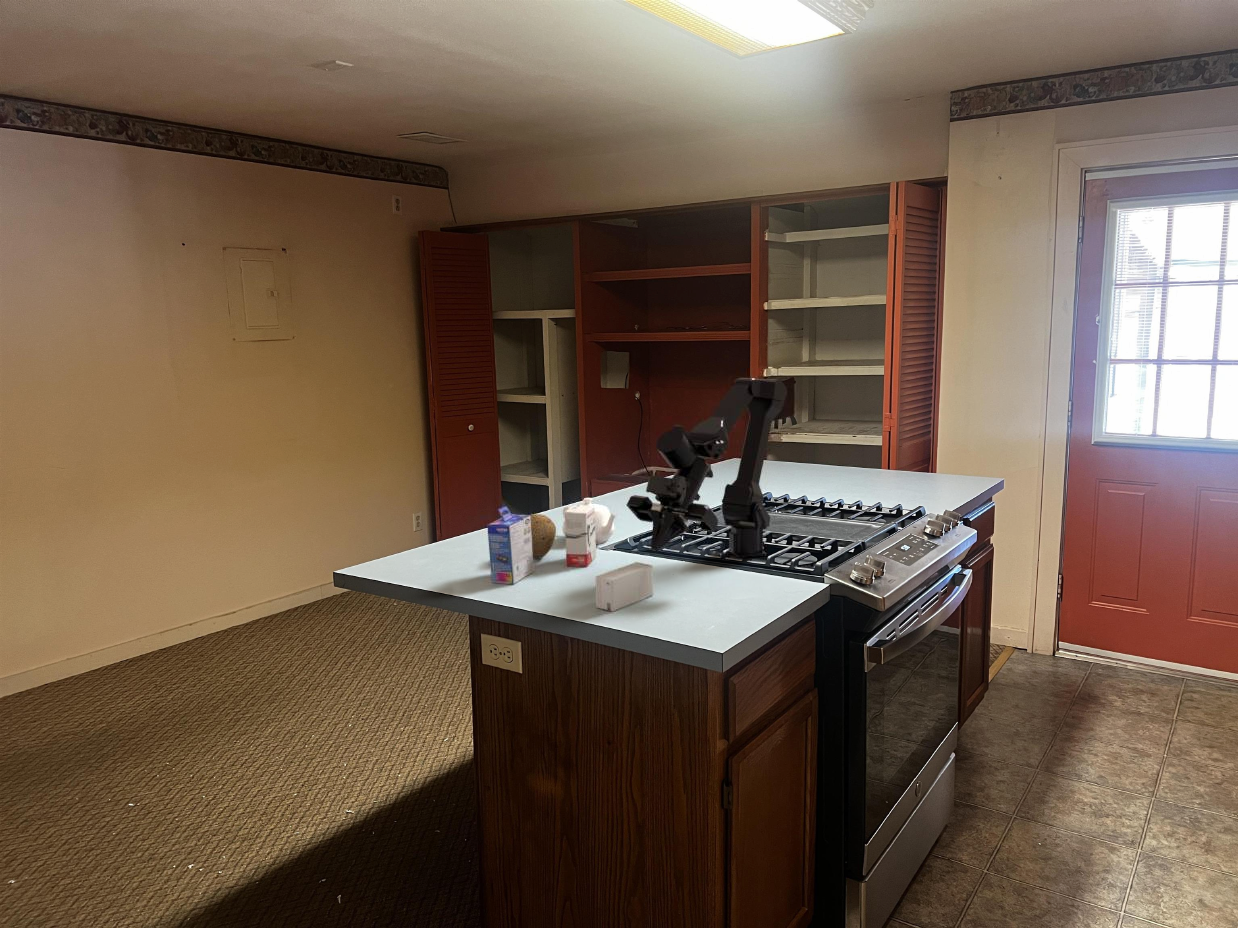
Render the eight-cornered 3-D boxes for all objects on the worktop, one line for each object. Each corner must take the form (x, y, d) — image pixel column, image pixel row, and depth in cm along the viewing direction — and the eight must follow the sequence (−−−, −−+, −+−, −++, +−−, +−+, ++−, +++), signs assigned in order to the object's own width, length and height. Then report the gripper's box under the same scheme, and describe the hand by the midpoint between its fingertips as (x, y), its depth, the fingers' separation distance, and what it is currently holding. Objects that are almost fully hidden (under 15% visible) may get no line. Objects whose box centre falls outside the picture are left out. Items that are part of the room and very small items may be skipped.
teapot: (637, 543, 204) (636, 500, 203) (595, 552, 196) (594, 508, 195) (585, 529, 219) (583, 489, 218) (544, 537, 212) (543, 496, 210)
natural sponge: (522, 565, 187) (520, 520, 185) (510, 556, 195) (508, 512, 193) (562, 560, 190) (560, 515, 189) (548, 551, 199) (547, 508, 197)
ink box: (587, 567, 185) (586, 512, 183) (565, 566, 186) (563, 512, 184) (597, 556, 193) (595, 504, 191) (575, 556, 194) (573, 504, 192)
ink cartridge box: (510, 569, 184) (507, 502, 182) (534, 571, 182) (532, 503, 180) (489, 583, 175) (485, 512, 173) (514, 585, 173) (510, 513, 171)
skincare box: (636, 561, 166) (593, 574, 157) (654, 564, 163) (611, 578, 154) (636, 592, 167) (593, 607, 158) (655, 596, 164) (612, 612, 155)
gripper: (630, 455, 173) (595, 520, 167) (708, 463, 161) (674, 533, 155) (656, 487, 181) (623, 551, 174) (732, 496, 169) (700, 565, 162)
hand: (653, 549), depth 166 cm, fingers closed
